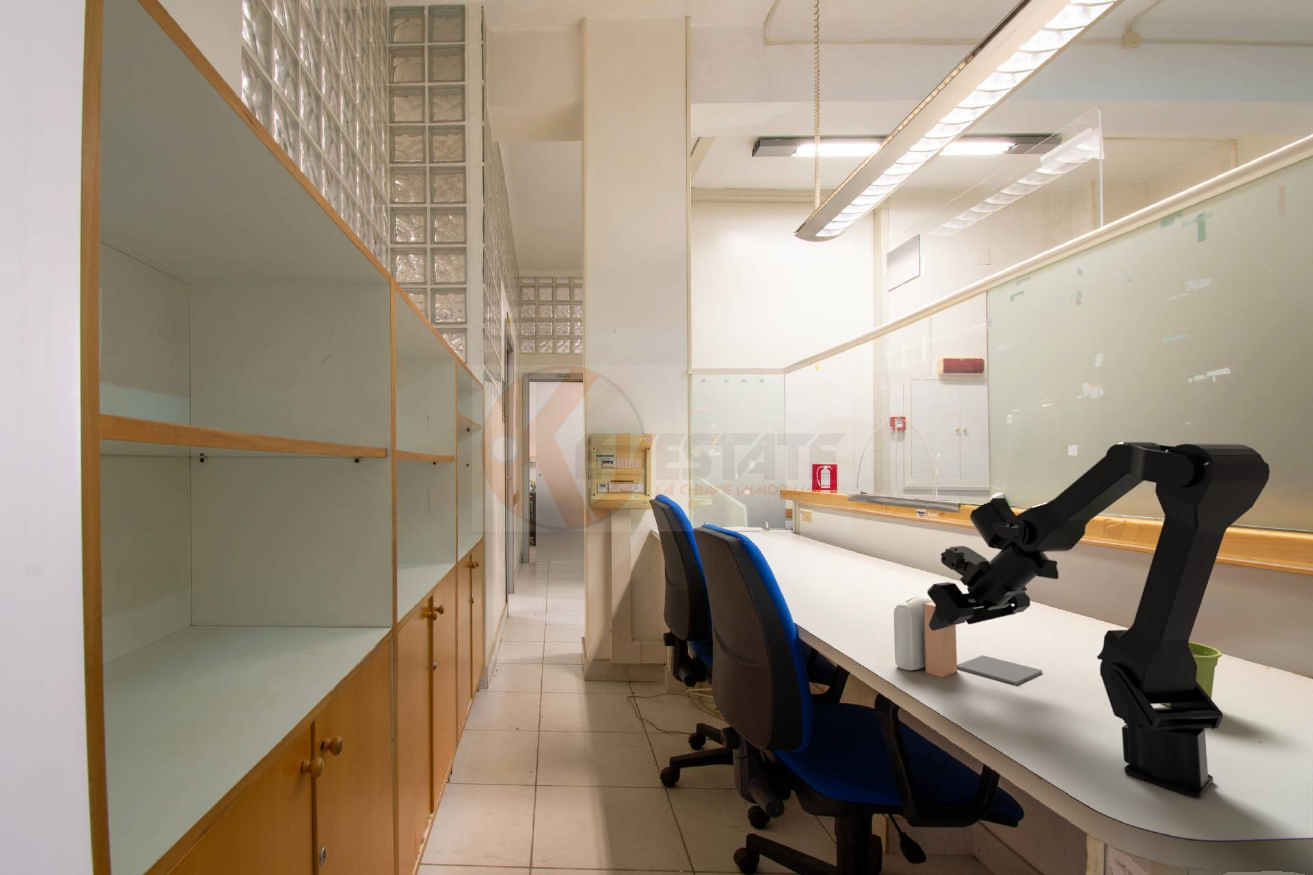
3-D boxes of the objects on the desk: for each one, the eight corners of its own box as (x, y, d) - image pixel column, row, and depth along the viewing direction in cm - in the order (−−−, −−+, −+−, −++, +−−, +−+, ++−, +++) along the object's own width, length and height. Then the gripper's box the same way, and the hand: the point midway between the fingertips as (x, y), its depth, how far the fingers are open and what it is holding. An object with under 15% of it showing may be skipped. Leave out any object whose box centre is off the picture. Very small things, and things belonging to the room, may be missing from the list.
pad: (1042, 672, 99) (1041, 669, 99) (1016, 685, 93) (1016, 682, 93) (982, 657, 107) (982, 655, 107) (955, 668, 101) (955, 665, 101)
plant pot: (1197, 721, 79) (1193, 658, 80) (1126, 696, 88) (1122, 640, 89) (1242, 713, 82) (1237, 652, 82) (1168, 689, 91) (1165, 635, 91)
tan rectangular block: (957, 671, 99) (954, 603, 100) (942, 677, 97) (940, 606, 97) (940, 666, 102) (938, 599, 103) (925, 672, 99) (923, 603, 100)
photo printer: (923, 656, 108) (921, 591, 109) (945, 662, 104) (942, 595, 105) (891, 666, 102) (889, 598, 103) (913, 673, 99) (910, 602, 99)
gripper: (1009, 529, 98) (955, 581, 108) (935, 534, 90) (883, 590, 100) (1059, 583, 91) (996, 634, 100) (983, 593, 83) (922, 648, 92)
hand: (949, 624), depth 98 cm, fingers open, 9 cm apart
